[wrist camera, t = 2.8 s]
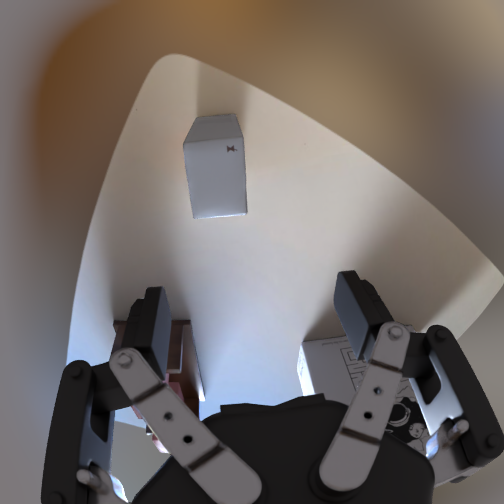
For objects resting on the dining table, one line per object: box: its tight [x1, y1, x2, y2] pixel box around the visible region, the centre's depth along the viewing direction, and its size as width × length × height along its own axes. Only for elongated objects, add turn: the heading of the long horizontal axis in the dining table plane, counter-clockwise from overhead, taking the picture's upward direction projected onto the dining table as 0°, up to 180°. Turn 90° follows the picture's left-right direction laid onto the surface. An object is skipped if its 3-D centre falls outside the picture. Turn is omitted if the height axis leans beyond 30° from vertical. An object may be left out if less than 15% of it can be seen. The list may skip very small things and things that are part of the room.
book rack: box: [109, 320, 205, 435], centre depth 46 cm, size 12×22×9 cm, turn 179°
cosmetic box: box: [183, 114, 248, 219], centre depth 26 cm, size 6×4×12 cm
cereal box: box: [297, 325, 430, 457], centre depth 42 cm, size 22×8×25 cm, turn 90°
